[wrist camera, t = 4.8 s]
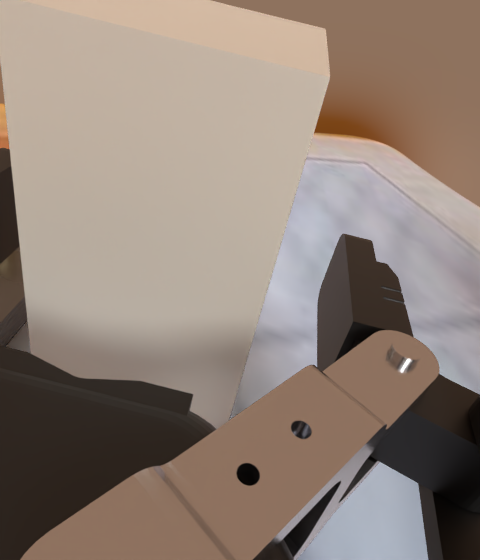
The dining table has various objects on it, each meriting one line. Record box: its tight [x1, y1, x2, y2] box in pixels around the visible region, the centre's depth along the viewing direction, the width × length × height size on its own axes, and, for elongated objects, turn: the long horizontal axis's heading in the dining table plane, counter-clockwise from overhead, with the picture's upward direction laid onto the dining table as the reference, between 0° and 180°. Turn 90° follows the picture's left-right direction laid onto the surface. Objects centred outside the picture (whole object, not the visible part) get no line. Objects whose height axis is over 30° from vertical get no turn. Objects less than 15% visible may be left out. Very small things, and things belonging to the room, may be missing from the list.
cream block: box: [0, 0, 330, 429], centre depth 12 cm, size 4×6×12 cm
